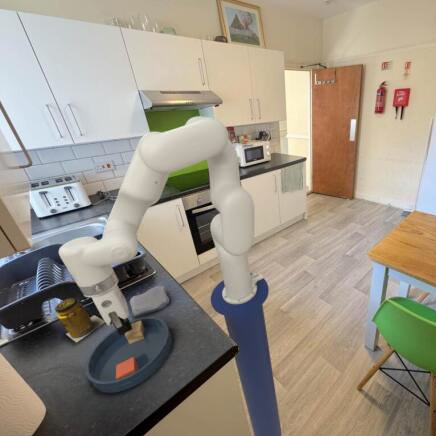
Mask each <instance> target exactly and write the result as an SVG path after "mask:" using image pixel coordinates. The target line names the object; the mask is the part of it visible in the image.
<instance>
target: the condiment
mask: <svg viewBox="0 0 436 436" xmlns="http://www.w3.org/2000/svg"><path fill="white" fill-rule="evenodd" d="M54 311H55V312H56V314H57V318H58V320H59V321H60V322H61V324H62V326H63V327H64V328H65V330H66V331H67V333H65V335H66V336H67V337H69V338H70V339H71V340H72V341H73V342H75V343H76V344H77V343H78V342H79V341H81V340H82V339H84V338H86V337H87V336H89V335H90V334H91V333H92V332H94V331H95V330H96V329H98V328H100V327H101V326H102V325H103V324H106V322H105V321H104V319H102V318H100V317H98V316H96V315H95V314H94V315H91V317H90V315H89V314H88V312H87V311H86V309H85V307H84V305H83V304H82V303H80V302H79V301H78V299H77V298H75V297H71V298H70V297H69V298H67V299H64V300H62V301H61V302H59V303H58V304H56V306H55V308H54Z"/></svg>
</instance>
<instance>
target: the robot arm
mask: <svg viewBox="0 0 436 436" xmlns="http://www.w3.org/2000/svg"><path fill="white" fill-rule="evenodd" d="M204 161H206V163H207V167H208V174H209V187H210V188H209V189H210V190H209V191H210V202H211V204H212V206H213V207H214V208H215V210H217V212H219V213H218V214H216V215H214V217H213V218H212V220H211V222H210V228H209V229H210V235H211V238H212V241H213V243H214V247H215V251H216V253H217V257H218V262H219V267H220V271H221V276H222V279H223V280H224V284H225V287H224V289H223V291H222V296H223V299H224V300H225V301H226V302H227V303H230V304H242V303H245V302H247V301H249V300H251V299H252V298H253V297H254V296H255V294H256V292H257V285H256V283H257V281H259V280H261V279H263V278H264V276H263V274H262V273H260V274H257V273H256V272H254V273H252V275H250V273H251V269H250V263H249V257H248V252H249V251H250V250H251V248H252V246H253V244H254V241H255V203H254V200H253V197H252V195H251V194H250V193H249V191H248V190H247V189H245V188H244V187H243V186H241V176H240V165H239V158H238V154H237V151H236V148H235V147H234V144H233V143H232V141H231V140H230V135H229V130H228V129H227V127H226V126H225V124H224V123H223V122H222V121H220V120H219V119H217V118H214V117H211V116H200V115H198V116H197V115H196V116H193V117H191V118H189V119H187V121H186V122H185V124H184V125H182V126H179V127H176V128H173V129H170V130H165V131H162V132H161V131H150V132H146V133H145V134H143V136H141V138H140V139H139V141H138V143H137V146H136V147H135V150H134V153H133V156H132V158H131V160H130V162H129V165H128V168H127V170H126V173H125V176H124V179H123V181H122V183H121V185H120V188H119V190H118V193H117V196H116V199H115V202H114V204H113V207H112V209H111V211H110V212H109V213H110V214H109V216H108V219H107V221H106V223H105V226H104V229H103V231H102V232H103V233H102V237H101V238H100V239H97V238H96V237H94V236H90V235H89V236H88V235H87V236H81V237H76V238H73V239H71V240H69V241H67V242H65V243H64V244H62V245H61V246H60V247H59V248H58V255H59V258H60V260H61V261H62V262H63V264H64V266H65V267H66V269H67V270H68V272H69V274H70V276H71V277H72V278H73V280H74V282H75V284H76V285H77V287H78V288H79V290H80V292H81V293H82V295H83V296H84V297H86V298H91V299H92V301H93V303H94V306H95V307H96V309H97V311H98V312H99V315H100V316H101V318H102V320H103V321H105V324H106V325H107V326H109V327H112V325H113V326H114V328H115V329H116V330H117V331H118V333H119V335H122V334H124V333H126V332H128V331H130V330H132V325H131V323H130V321H131V320H130V319H129V317H130V311H129V307H128V303H127V300H126V297H125V296H124V294H123V292H122V291H121V289H120V288H119V286H118V283H119V278H118V276H117V274H116V272H115V270H114V269H113V266H112V265H118V264H123V263H127V262H129V261H131V260H133V259H134V258H135V257H136V256H137V255H138V252H139V240H138V231H139V228H140V226H141V223H142V221H143V219H144V216H145V214H146V213H147V211H148V210H149V208H150V207H151V206H152V205H155V204H156V203H157V202H158V201H159V200H160V199H161V197H162V194H163V191H164V190H165V187H166V184H167V182H168V179H169V176H170V175H171V174H172V173H175V172H178V171H181V170H184V169H186V168H190V167H191V166H194V165H196V164H200V163H202V162H204ZM257 275H258V276H257ZM256 276H257V277H256ZM223 280H222V281H223Z"/></svg>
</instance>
